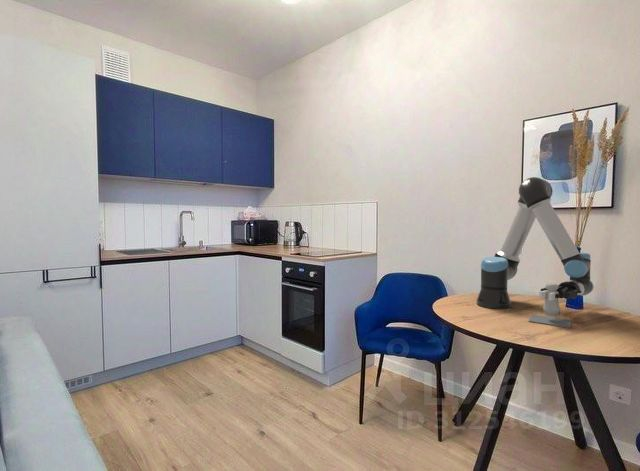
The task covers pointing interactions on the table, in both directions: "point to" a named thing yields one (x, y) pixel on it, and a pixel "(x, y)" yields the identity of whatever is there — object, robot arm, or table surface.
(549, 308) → the salt shaker
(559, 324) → the mat
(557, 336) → the table surface
